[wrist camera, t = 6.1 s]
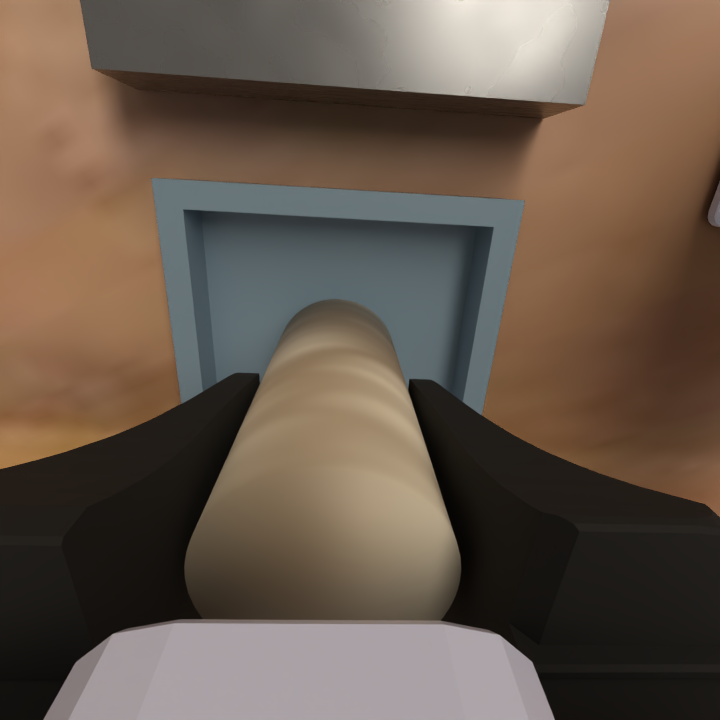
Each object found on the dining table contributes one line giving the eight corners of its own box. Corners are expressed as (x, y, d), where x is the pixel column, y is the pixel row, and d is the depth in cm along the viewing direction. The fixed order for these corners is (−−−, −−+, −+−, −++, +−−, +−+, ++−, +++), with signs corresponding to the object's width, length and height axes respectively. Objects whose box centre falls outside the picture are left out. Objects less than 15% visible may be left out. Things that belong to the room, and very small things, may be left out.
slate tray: (499, 198, 14) (524, 200, 12) (453, 456, 19) (466, 489, 17) (179, 178, 14) (151, 178, 12) (209, 449, 18) (192, 483, 16)
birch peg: (398, 301, 14) (482, 472, 5) (388, 407, 15) (441, 668, 7) (277, 295, 13) (167, 464, 5) (280, 403, 15) (198, 669, 7)
